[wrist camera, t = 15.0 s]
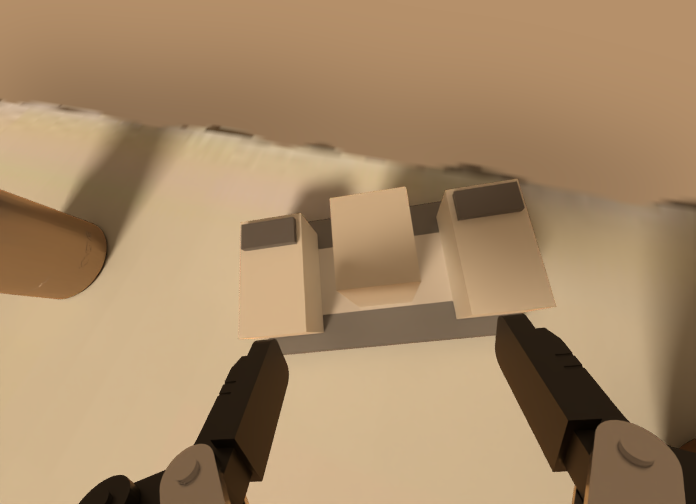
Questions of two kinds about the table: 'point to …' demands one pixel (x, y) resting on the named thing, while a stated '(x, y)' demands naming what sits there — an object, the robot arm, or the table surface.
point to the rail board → (435, 271)
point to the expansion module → (374, 248)
